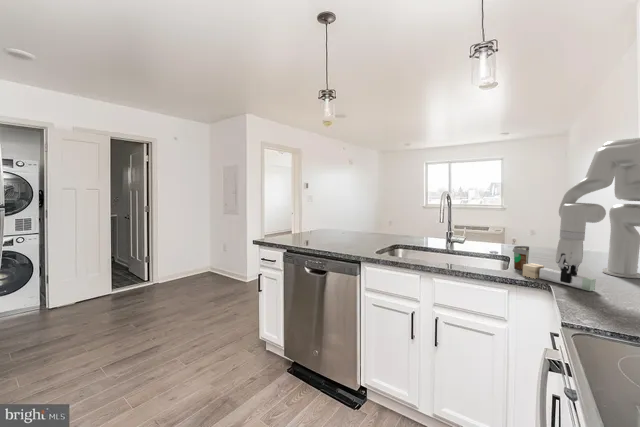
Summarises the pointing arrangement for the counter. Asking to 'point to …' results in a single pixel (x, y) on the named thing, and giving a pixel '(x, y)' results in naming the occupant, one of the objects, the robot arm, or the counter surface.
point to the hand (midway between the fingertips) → (568, 281)
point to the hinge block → (532, 270)
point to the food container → (520, 256)
